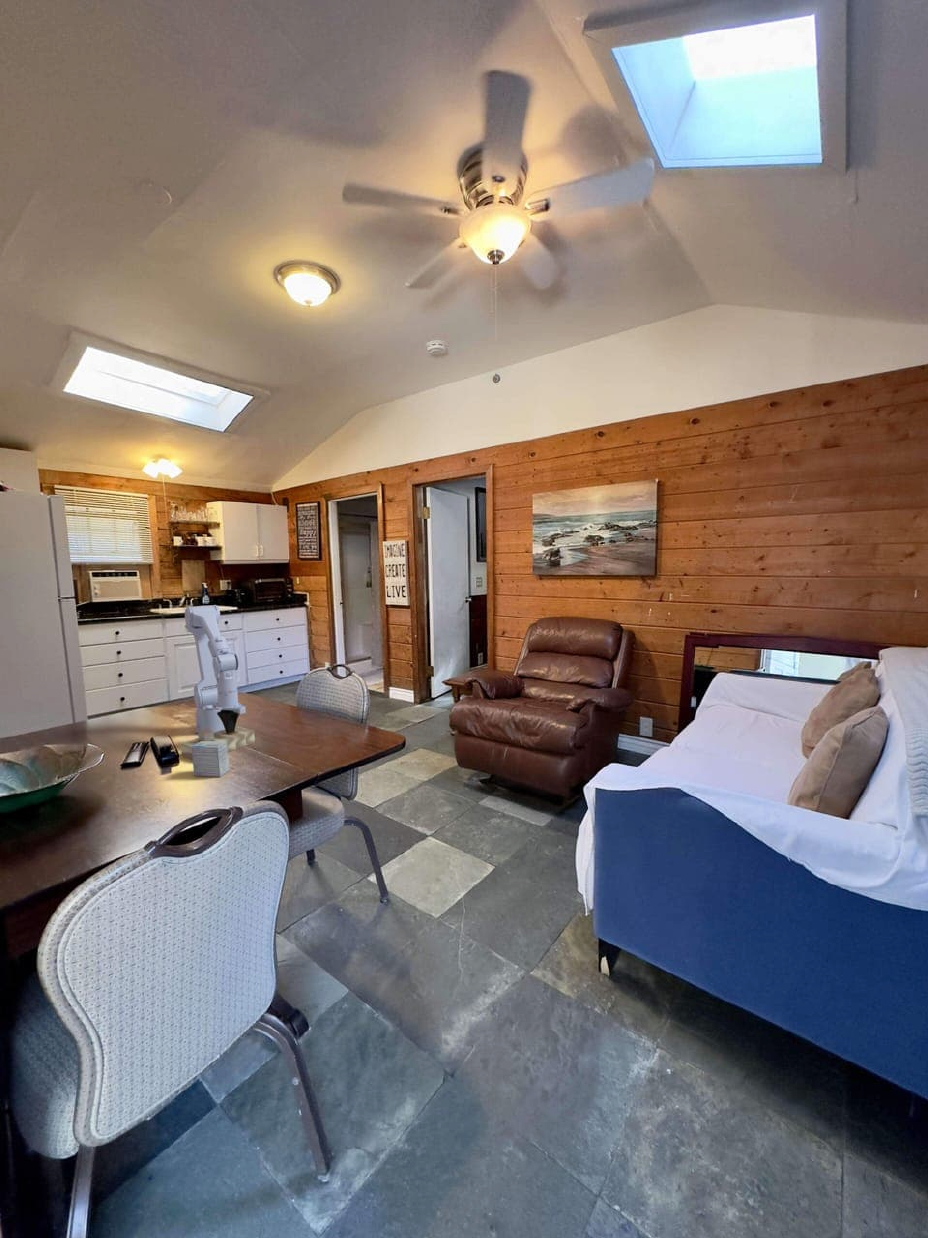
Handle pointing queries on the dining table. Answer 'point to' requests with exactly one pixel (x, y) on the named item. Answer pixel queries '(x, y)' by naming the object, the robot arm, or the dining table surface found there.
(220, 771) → the medicine box
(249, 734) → the socket board
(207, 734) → the near peg
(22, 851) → the dining table surface
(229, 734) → the far peg
